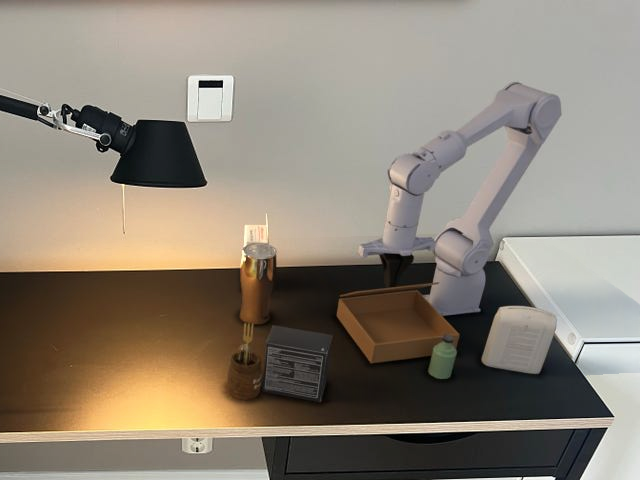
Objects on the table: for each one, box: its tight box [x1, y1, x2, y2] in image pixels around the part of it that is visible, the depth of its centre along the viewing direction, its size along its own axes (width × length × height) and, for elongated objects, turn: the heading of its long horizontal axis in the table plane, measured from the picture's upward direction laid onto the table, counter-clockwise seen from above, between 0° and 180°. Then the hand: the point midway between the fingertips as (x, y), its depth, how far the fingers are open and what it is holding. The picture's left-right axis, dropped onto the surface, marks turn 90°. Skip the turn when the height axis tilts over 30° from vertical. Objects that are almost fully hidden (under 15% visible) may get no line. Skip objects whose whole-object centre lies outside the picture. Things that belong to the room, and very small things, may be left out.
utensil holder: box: [226, 322, 263, 401], centre depth 130 cm, size 6×6×12 cm
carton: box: [336, 289, 460, 364], centre depth 146 cm, size 17×17×4 cm
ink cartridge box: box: [243, 212, 270, 248], centre depth 160 cm, size 9×5×15 cm, turn 177°
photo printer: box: [481, 305, 558, 375], centre depth 135 cm, size 10×4×12 cm, turn 72°
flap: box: [339, 282, 439, 298], centre depth 147 cm, size 8×17×1 cm
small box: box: [261, 325, 333, 403], centre depth 131 cm, size 11×6×10 cm, turn 71°
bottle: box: [427, 334, 458, 380], centre depth 134 cm, size 4×4×8 cm
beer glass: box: [239, 243, 278, 326], centre depth 148 cm, size 7×7×15 cm
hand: (389, 285), depth 146 cm, fingers closed, pressing on flap
